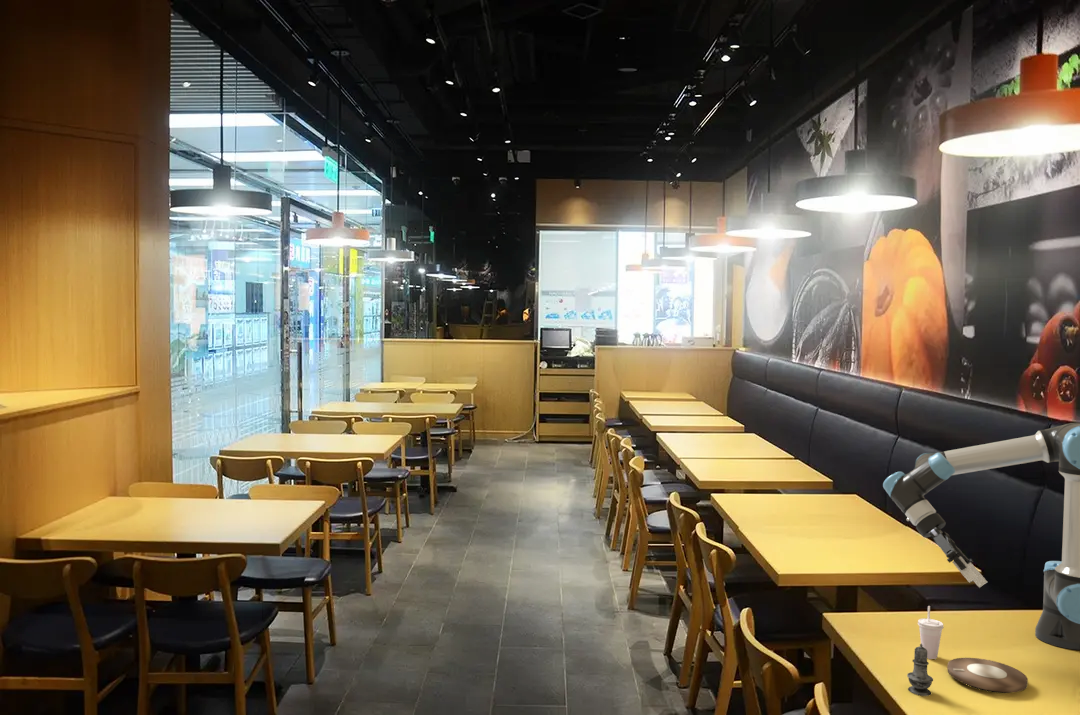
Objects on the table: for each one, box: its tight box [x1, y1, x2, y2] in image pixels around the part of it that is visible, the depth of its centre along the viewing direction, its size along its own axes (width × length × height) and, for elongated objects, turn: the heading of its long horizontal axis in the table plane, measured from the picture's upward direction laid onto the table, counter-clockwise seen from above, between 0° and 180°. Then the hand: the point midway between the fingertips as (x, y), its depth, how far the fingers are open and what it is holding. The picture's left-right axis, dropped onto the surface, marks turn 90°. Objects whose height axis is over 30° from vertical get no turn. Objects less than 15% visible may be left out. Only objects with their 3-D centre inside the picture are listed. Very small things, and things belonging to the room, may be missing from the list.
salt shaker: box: [906, 643, 934, 697], centre depth 199 cm, size 6×6×12 cm
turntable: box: [946, 657, 1029, 693], centre depth 206 cm, size 18×18×2 cm
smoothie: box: [917, 605, 945, 660], centre depth 222 cm, size 6×6×14 cm
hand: (978, 582), depth 221 cm, fingers open, 13 cm apart
